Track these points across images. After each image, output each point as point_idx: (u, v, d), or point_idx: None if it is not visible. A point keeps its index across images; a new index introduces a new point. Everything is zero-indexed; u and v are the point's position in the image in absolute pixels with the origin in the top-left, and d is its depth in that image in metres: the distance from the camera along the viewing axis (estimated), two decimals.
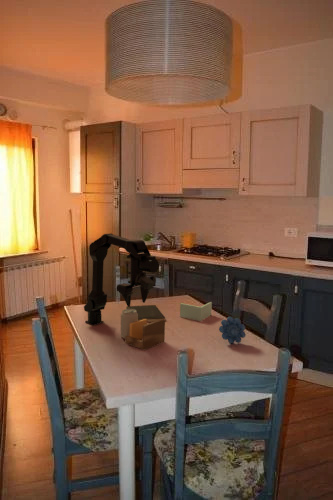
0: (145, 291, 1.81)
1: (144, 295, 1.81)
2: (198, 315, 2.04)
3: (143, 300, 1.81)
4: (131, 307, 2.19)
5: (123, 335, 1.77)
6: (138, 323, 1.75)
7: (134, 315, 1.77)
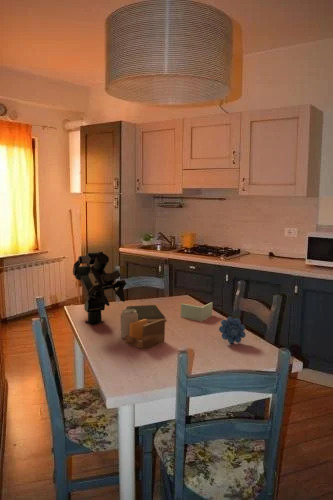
0: (120, 291, 1.89)
1: (121, 295, 1.88)
2: (199, 315, 2.04)
3: (122, 299, 1.87)
4: (131, 307, 2.19)
5: (123, 335, 1.77)
6: (138, 323, 1.75)
7: (134, 315, 1.77)
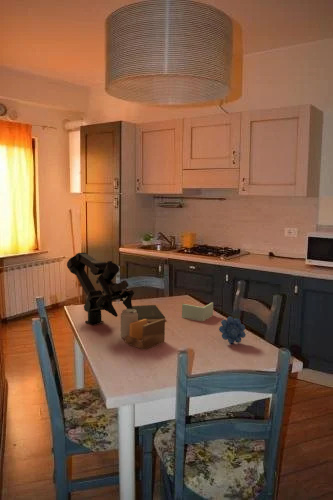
0: (127, 301, 1.86)
1: (129, 305, 1.85)
2: (200, 315, 2.04)
3: None
4: None
5: (123, 335, 1.77)
6: (138, 323, 1.75)
7: (134, 315, 1.77)
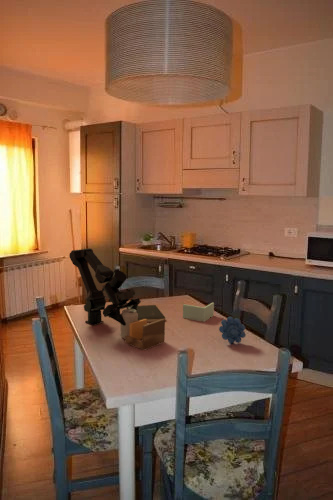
0: None
1: None
2: (202, 316, 2.03)
3: None
4: None
5: (123, 335, 1.77)
6: (138, 323, 1.75)
7: (134, 315, 1.77)
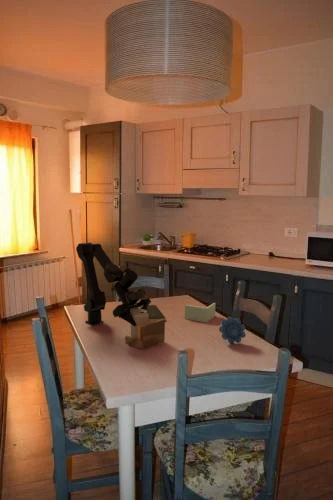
0: None
1: None
2: (204, 316, 2.03)
3: None
4: None
5: (133, 336, 1.73)
6: None
7: (145, 315, 1.72)
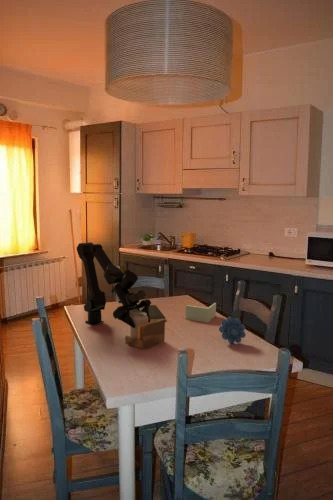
0: (144, 311, 1.79)
1: None
2: (205, 316, 2.03)
3: (148, 320, 1.78)
4: None
5: None
6: None
7: (144, 318, 1.73)
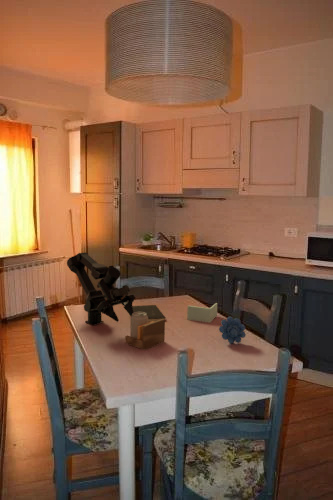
0: (128, 306, 1.86)
1: (130, 310, 1.85)
2: (207, 317, 2.02)
3: (131, 314, 1.84)
4: None
5: None
6: None
7: (144, 318, 1.73)
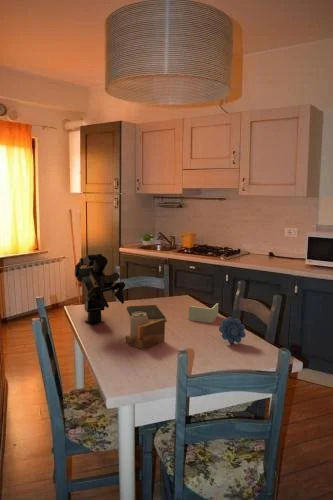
0: (119, 293, 1.89)
1: (120, 297, 1.89)
2: (209, 317, 2.02)
3: (122, 301, 1.88)
4: (131, 307, 2.19)
5: None
6: None
7: (144, 318, 1.73)
